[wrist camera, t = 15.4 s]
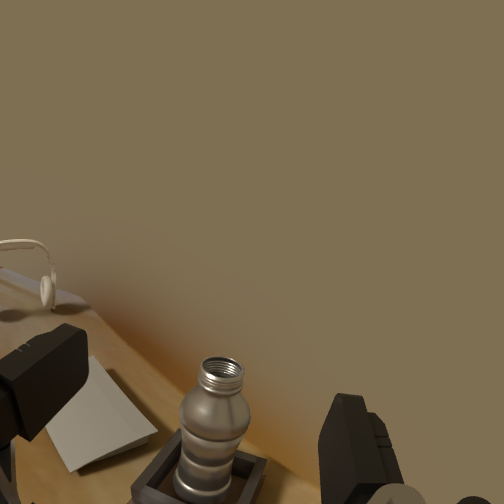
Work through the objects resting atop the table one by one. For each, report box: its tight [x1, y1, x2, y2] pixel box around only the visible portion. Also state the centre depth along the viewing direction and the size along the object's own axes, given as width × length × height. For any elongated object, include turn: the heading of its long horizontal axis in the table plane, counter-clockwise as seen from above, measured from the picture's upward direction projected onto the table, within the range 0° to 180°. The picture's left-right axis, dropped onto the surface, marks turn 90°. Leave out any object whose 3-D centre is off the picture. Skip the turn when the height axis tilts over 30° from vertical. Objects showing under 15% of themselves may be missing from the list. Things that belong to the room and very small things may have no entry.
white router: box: [45, 356, 158, 473], centre depth 39 cm, size 15×23×4 cm, turn 48°
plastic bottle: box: [173, 356, 251, 504], centre depth 28 cm, size 6×7×20 cm
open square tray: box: [127, 428, 267, 504], centre depth 30 cm, size 13×13×5 cm
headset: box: [0, 239, 56, 309], centre depth 58 cm, size 20×7×18 cm, turn 137°
